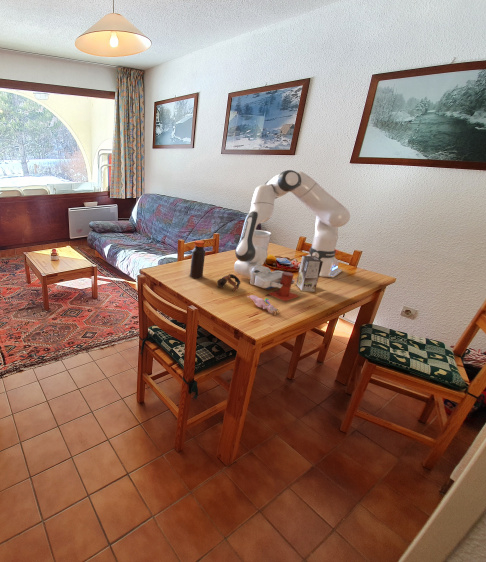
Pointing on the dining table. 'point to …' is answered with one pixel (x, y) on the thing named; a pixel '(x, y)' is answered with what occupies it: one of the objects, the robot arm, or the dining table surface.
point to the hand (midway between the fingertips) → (287, 284)
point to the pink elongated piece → (263, 304)
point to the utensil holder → (262, 238)
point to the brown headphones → (229, 281)
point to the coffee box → (309, 273)
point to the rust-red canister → (285, 284)
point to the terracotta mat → (283, 297)
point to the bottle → (197, 260)
